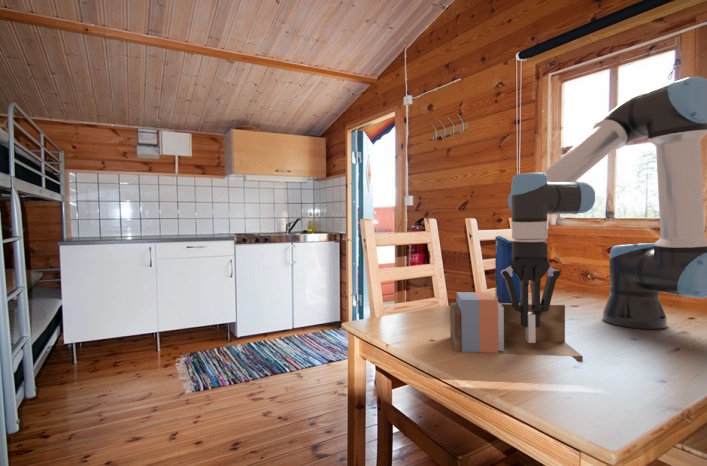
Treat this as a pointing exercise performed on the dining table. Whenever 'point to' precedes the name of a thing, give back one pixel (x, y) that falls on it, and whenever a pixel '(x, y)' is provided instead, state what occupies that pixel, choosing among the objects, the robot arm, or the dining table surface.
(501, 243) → the book
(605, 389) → the dining table surface
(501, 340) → the bookend
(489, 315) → the book
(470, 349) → the book
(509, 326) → the shelf
